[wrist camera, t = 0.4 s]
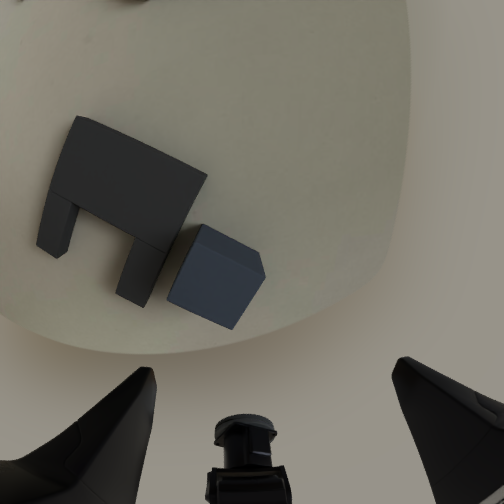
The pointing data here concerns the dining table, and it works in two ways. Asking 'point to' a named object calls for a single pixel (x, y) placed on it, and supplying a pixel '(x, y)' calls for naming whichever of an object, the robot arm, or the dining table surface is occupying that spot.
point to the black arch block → (120, 199)
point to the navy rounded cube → (217, 278)
